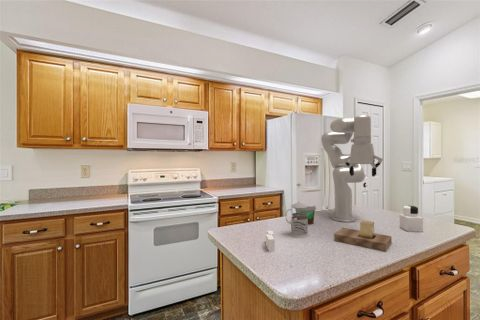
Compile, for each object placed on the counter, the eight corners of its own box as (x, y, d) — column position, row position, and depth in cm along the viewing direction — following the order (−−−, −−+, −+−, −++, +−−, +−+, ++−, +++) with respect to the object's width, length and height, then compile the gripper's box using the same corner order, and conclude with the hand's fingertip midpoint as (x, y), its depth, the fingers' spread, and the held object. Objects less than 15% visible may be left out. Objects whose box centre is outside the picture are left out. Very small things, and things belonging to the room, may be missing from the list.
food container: (293, 224, 133) (293, 206, 133) (294, 221, 139) (294, 204, 139) (316, 225, 130) (316, 207, 130) (316, 222, 135) (316, 205, 135)
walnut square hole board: (334, 240, 106) (334, 233, 106) (343, 233, 114) (343, 227, 114) (385, 251, 92) (385, 243, 92) (391, 243, 101) (391, 236, 101)
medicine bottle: (413, 227, 123) (413, 204, 123) (423, 232, 116) (422, 207, 116) (399, 227, 123) (399, 204, 123) (407, 231, 116) (407, 207, 116)
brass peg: (360, 243, 102) (360, 222, 102) (362, 240, 105) (362, 220, 105) (372, 245, 99) (371, 224, 99) (374, 242, 102) (374, 221, 102)
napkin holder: (275, 256, 91) (275, 241, 91) (251, 249, 98) (250, 236, 98) (291, 244, 103) (291, 231, 103) (268, 239, 110) (268, 227, 110)
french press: (311, 238, 109) (310, 184, 109) (285, 236, 112) (284, 184, 112) (309, 231, 119) (308, 182, 119) (285, 230, 121) (285, 182, 121)
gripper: (341, 141, 118) (341, 175, 119) (380, 139, 107) (381, 177, 107) (346, 142, 124) (346, 174, 124) (384, 140, 112) (384, 176, 113)
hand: (362, 175), depth 116 cm, fingers open, 9 cm apart
